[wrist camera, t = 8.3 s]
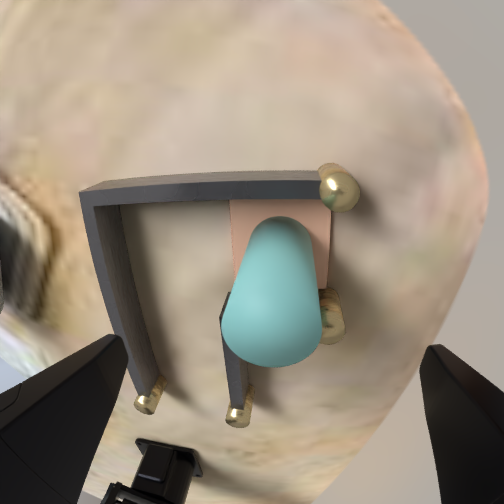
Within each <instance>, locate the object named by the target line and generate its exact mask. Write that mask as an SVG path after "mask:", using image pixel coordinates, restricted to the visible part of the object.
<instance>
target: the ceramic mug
mask: <svg viewBox="0 0 504 504" xmlns="http://www.w3.org/2000/svg"><path fill="white" fill-rule="evenodd" d="M3 304H4V295H3V287H2V275H1V262H0V314H1V311H2V309H3Z"/></svg>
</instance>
